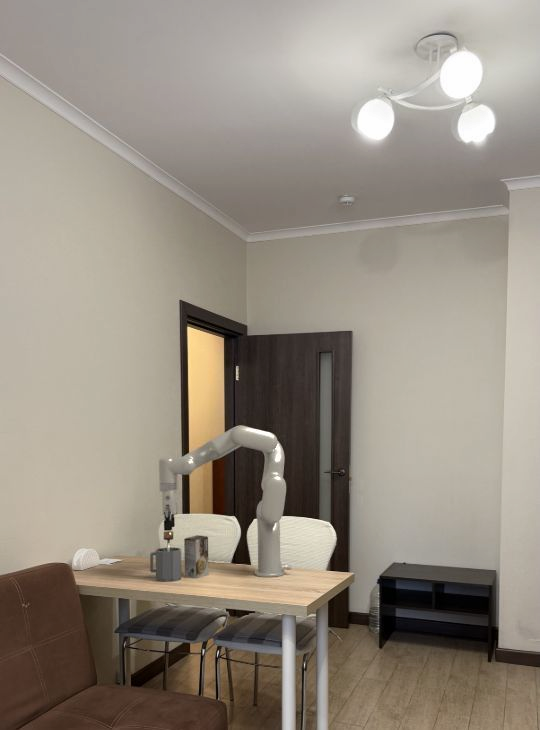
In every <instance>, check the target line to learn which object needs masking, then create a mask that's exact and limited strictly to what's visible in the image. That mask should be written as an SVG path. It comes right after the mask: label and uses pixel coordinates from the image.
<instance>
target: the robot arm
mask: <svg viewBox="0 0 540 730" xmlns="http://www.w3.org/2000/svg"><path fill="white" fill-rule="evenodd" d="M240 447H244V448H248V449H253V450H257V451H260V452H262V453H263V455H264V467H263V473H262V479H261V484H260V485H261V489H262V491H263V492H262V499H261V500H260V501H259V502H258V504H257V507H256V522H257V569H256V570H255V571H254V575H255V576H257V577H263V578H273V577H280V576H283V575H285V570H287V571H288V570H290V571H291V570H292V565H291V564H282V561H281V524H280V523H281V522H280V521H281V519H282V517H283V515H284V510H285V503H286V495H287V482H286V480H285V479H284V470H285V469H284V467H285V458H286V457H285V453H284V449H283V446H282V444H281V443H280V442H279V441H278V438H277V436H276V435H275V434H274V433H273V432H270V431H266V430H261V429H257V428H254V427H251V426H250V427H249V426H246V425H237V426H234V427H232V428H230V429H228V430H227V431H225V432H223V433H221V434H219V435H217V436H216V437H214V438H213V439H211V440H208V441H207V442H206V443H204V444H202V445H201V446H199V447H198V448H196V449H194V450H191V451H190V452H188V453H186V454H185V455H183V456H181V457H177V458H176V457H162V458H160V459H159V461H158V475H159V476H158V477H159V481H158V482H159V484H158V485H159V492H161V493H162V495H161V497H162V499H161V501H162V502H161V503H162V504H161V505H162V515H163V516H164V517H163V518H164V519H163V530H164V531H163V532H165V531H173V528H174V527H175V525H176V524H175V515H176V514H177V511H178V510H177V494H176V491H178V490H179V489H178V485H179V484H178V475H184V476H186V475H191V474H192V473H193V472H194V471H195V470H197V469H198V468H200V467H202V466H203V465H205V464H207V463H209V462H212V461H215V460H219V459H220V458H223V457H225V456H226V455H229V453H231V452H233V451H235V450H237V449H238V448H240Z"/></svg>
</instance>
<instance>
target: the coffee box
mask: <svg viewBox="0 0 540 730" xmlns="http://www.w3.org/2000/svg"><path fill="white" fill-rule="evenodd" d="M183 541H184V542H183V543H184V547H183V548H184V578H189V579H195V578H196V579H199V578H202V577H205V576H207V575H209V573H210V571H209V536H207V535H206V536H205V535H199V534H198V535H194V536H190V537H185V538H184V539H183Z"/></svg>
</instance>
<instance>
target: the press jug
mask: <svg viewBox="0 0 540 730" xmlns="http://www.w3.org/2000/svg"><path fill="white" fill-rule="evenodd" d="M149 554H150V555H149V556H150V557H149V558H150V559H149V561H150V562H149V565H150V566H149V571H150V573H151V574H152V573H155V580H156V582H160V583H167V582H171V583H172V582H177V581H180V580H181V579H182V548H180V547H173V546H172V547H170V552H167V547H161V548H157V549H156V550H155V551H151V552H150V553H149ZM154 556H155V568H154Z"/></svg>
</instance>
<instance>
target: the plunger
mask: <svg viewBox="0 0 540 730" xmlns="http://www.w3.org/2000/svg"><path fill="white" fill-rule="evenodd" d="M163 540H164V541H166V548H167V552H170V548H171V541H172V540H174V531H173V530H171V531H163Z"/></svg>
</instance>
